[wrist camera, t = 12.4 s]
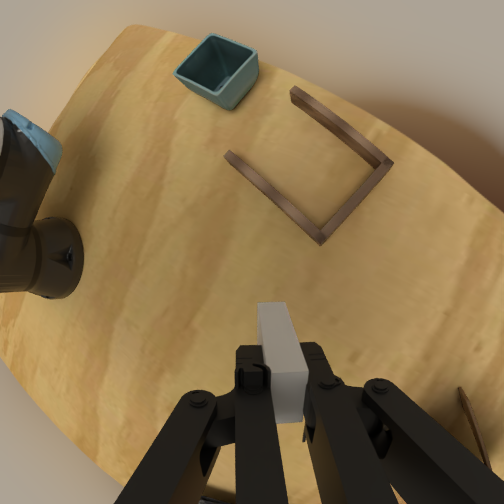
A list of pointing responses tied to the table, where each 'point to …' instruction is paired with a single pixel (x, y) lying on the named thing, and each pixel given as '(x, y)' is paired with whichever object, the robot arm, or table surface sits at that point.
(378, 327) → the table surface
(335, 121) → the wooden tray rim
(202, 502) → the vintage camera
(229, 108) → the flower pot
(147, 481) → the robot arm
